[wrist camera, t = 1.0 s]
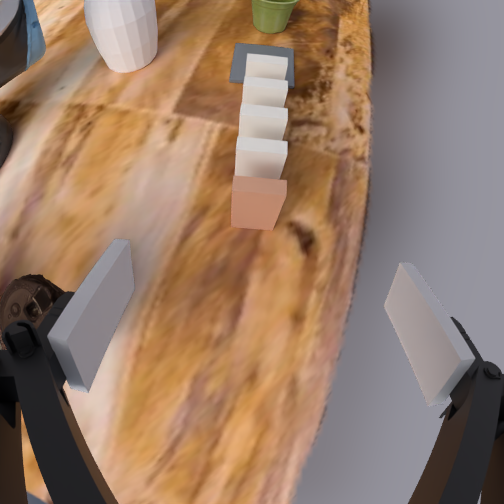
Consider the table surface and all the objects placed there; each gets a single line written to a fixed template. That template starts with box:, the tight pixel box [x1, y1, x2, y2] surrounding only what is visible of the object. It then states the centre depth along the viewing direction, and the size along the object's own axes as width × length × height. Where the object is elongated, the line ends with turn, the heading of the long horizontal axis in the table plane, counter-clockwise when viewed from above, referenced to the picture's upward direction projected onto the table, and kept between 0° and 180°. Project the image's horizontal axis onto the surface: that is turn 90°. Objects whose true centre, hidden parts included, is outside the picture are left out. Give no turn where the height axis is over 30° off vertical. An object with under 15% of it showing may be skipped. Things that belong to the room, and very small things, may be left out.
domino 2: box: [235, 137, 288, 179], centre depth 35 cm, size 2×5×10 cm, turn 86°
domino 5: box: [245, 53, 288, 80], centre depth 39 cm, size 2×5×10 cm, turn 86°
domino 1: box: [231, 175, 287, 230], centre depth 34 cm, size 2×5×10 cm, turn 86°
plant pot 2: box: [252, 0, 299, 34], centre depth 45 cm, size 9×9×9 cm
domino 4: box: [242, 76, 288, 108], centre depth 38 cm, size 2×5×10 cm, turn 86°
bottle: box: [84, 0, 158, 73], centre depth 33 cm, size 11×11×25 cm
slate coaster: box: [229, 43, 294, 89], centre depth 46 cm, size 10×10×1 cm
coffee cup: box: [0, 274, 66, 333], centre depth 28 cm, size 9×8×13 cm
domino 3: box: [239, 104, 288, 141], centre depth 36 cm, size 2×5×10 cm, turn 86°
